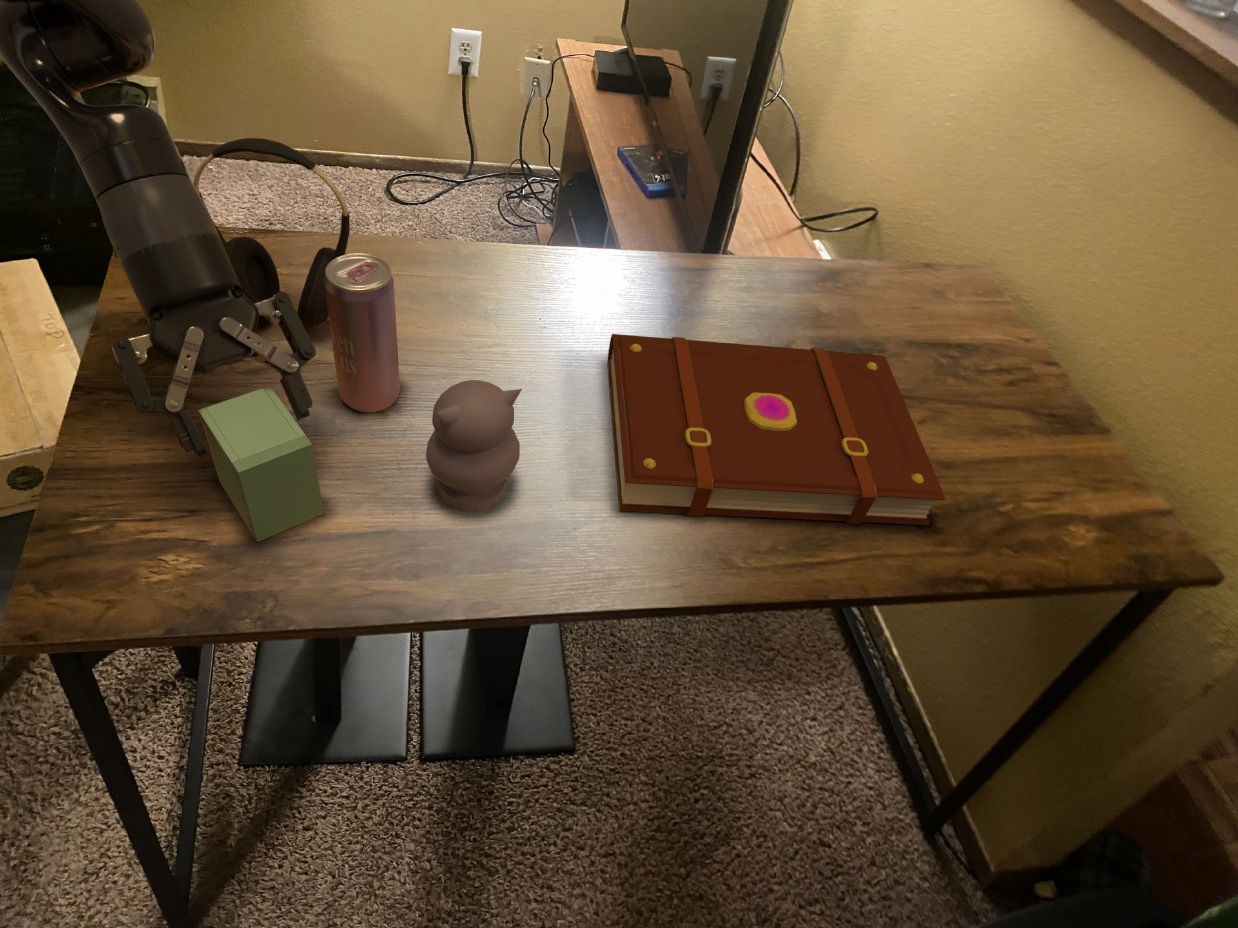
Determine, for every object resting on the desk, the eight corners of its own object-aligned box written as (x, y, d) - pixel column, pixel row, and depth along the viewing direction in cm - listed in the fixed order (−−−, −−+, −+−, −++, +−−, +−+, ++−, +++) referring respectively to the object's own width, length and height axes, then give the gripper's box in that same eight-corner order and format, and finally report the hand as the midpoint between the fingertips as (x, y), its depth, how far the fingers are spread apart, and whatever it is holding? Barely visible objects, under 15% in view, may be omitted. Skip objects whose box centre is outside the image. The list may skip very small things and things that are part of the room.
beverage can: (412, 393, 86) (407, 270, 75) (370, 424, 82) (358, 299, 71) (369, 367, 88) (357, 243, 77) (326, 396, 84) (307, 270, 73)
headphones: (233, 283, 93) (193, 108, 79) (367, 299, 95) (353, 131, 81) (207, 331, 88) (159, 151, 73) (351, 347, 89) (332, 175, 75)
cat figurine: (493, 443, 83) (499, 350, 74) (532, 498, 79) (542, 406, 70) (412, 471, 79) (408, 376, 70) (448, 530, 75) (449, 436, 66)
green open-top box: (219, 482, 75) (197, 409, 68) (285, 457, 78) (270, 385, 71) (257, 542, 71) (237, 472, 64) (324, 513, 74) (312, 443, 68)
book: (928, 528, 84) (950, 496, 80) (619, 513, 79) (627, 478, 75) (868, 377, 99) (884, 345, 96) (606, 358, 94) (613, 322, 91)
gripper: (70, 258, 60) (169, 467, 63) (266, 213, 67) (346, 402, 70) (71, 281, 66) (161, 470, 69) (250, 237, 73) (324, 409, 76)
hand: (254, 435), depth 69 cm, fingers open, 8 cm apart
